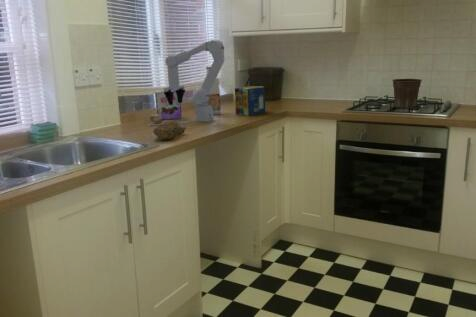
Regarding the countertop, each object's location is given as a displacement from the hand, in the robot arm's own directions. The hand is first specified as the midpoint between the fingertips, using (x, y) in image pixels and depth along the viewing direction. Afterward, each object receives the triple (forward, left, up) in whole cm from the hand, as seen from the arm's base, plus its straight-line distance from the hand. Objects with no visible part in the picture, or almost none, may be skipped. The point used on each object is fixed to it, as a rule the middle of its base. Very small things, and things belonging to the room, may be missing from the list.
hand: (175, 103), depth 245 cm
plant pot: (-101, -88, -10) cm, 134 cm away
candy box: (+10, -5, -10) cm, 15 cm away
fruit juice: (-2, -31, -10) cm, 33 cm away
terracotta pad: (+2, +6, -9) cm, 11 cm away
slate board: (-3, +10, -10) cm, 14 cm away
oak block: (+2, +14, -9) cm, 17 cm away
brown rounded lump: (-26, +36, -10) cm, 46 cm away
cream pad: (+2, +14, -9) cm, 17 cm away
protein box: (-24, -39, -10) cm, 47 cm away
